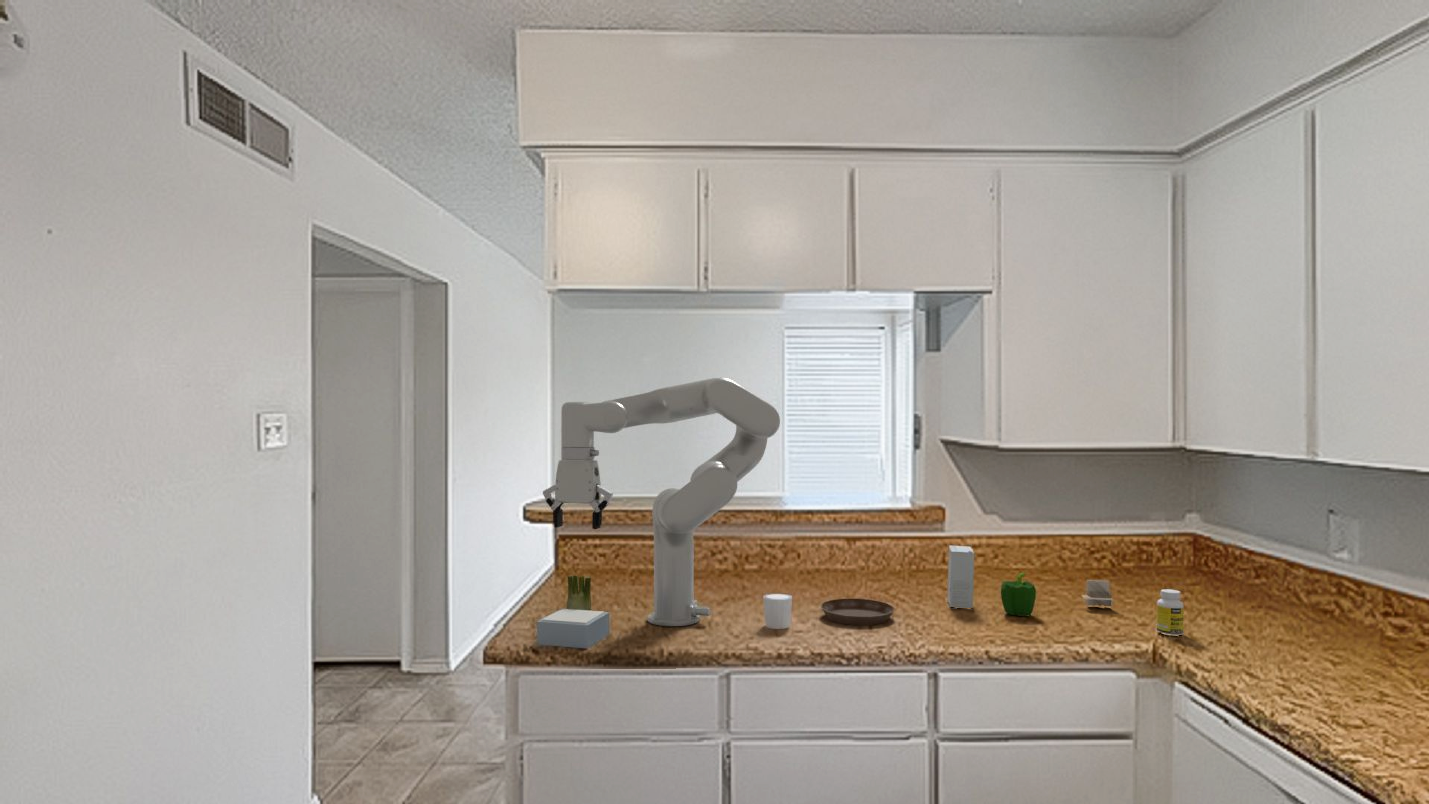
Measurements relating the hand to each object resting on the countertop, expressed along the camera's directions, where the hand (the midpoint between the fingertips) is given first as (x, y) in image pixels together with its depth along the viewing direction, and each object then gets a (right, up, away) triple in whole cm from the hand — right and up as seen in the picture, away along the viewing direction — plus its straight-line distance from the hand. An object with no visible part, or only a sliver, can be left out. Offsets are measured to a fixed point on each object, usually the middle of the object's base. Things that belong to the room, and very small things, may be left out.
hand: (577, 527), depth 214 cm
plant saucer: (+67, -24, +8) cm, 71 cm away
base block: (+1, -23, -12) cm, 26 cm away
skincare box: (+95, -23, +21) cm, 100 cm away
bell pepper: (+107, -23, +11) cm, 110 cm away
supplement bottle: (+135, -23, -7) cm, 137 cm away
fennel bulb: (0, -23, 0) cm, 23 cm away
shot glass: (+47, -23, 0) cm, 52 cm away
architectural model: (+130, -24, +17) cm, 133 cm away
